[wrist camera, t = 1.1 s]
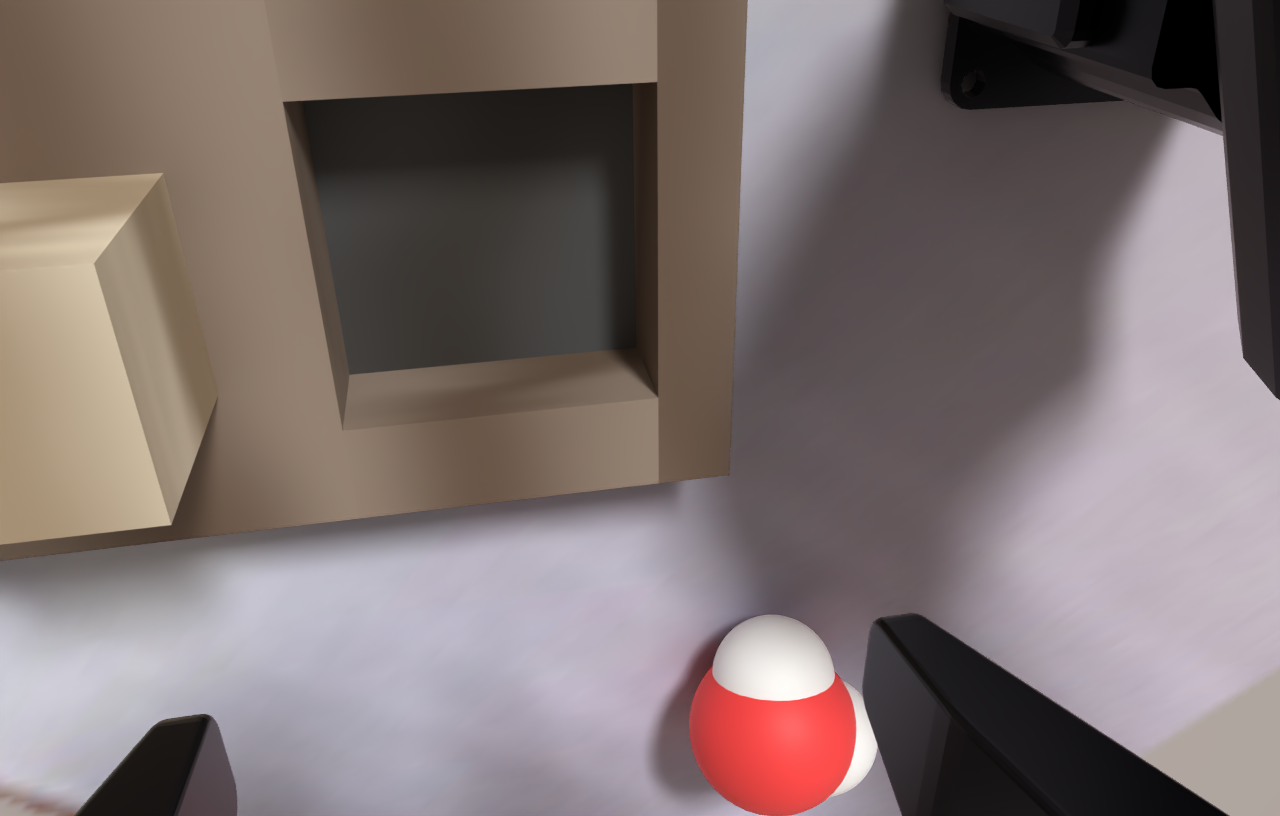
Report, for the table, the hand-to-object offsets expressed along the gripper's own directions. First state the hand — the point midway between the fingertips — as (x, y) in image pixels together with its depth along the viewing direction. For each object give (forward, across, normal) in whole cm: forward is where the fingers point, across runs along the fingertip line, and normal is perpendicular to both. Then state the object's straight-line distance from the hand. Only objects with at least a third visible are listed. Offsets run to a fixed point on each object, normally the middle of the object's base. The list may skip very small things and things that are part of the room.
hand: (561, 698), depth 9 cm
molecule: (+13, -7, +13) cm, 20 cm away
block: (+10, +7, 0) cm, 13 cm away
